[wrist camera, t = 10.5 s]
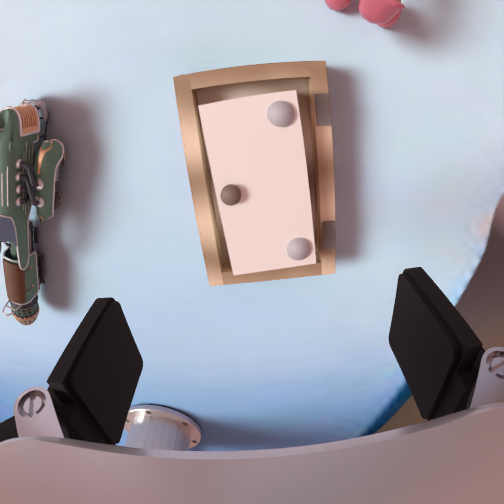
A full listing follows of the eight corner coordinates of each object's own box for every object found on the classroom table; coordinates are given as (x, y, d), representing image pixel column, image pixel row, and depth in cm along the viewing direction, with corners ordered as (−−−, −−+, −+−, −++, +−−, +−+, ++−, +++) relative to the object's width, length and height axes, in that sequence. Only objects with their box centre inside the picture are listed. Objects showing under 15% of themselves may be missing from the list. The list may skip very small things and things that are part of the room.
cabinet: (328, 257, 30) (335, 275, 27) (213, 268, 31) (209, 287, 28) (317, 64, 22) (326, 60, 19) (181, 79, 23) (172, 76, 20)
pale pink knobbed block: (206, 104, 23) (196, 105, 19) (289, 91, 23) (297, 89, 19) (235, 252, 29) (233, 278, 25) (308, 241, 28) (317, 266, 24)
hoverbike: (81, 102, 23) (27, 110, 16) (71, 319, 34) (42, 365, 27) (9, 96, 22) (-47, 106, 15) (12, 296, 33) (-21, 335, 25)
